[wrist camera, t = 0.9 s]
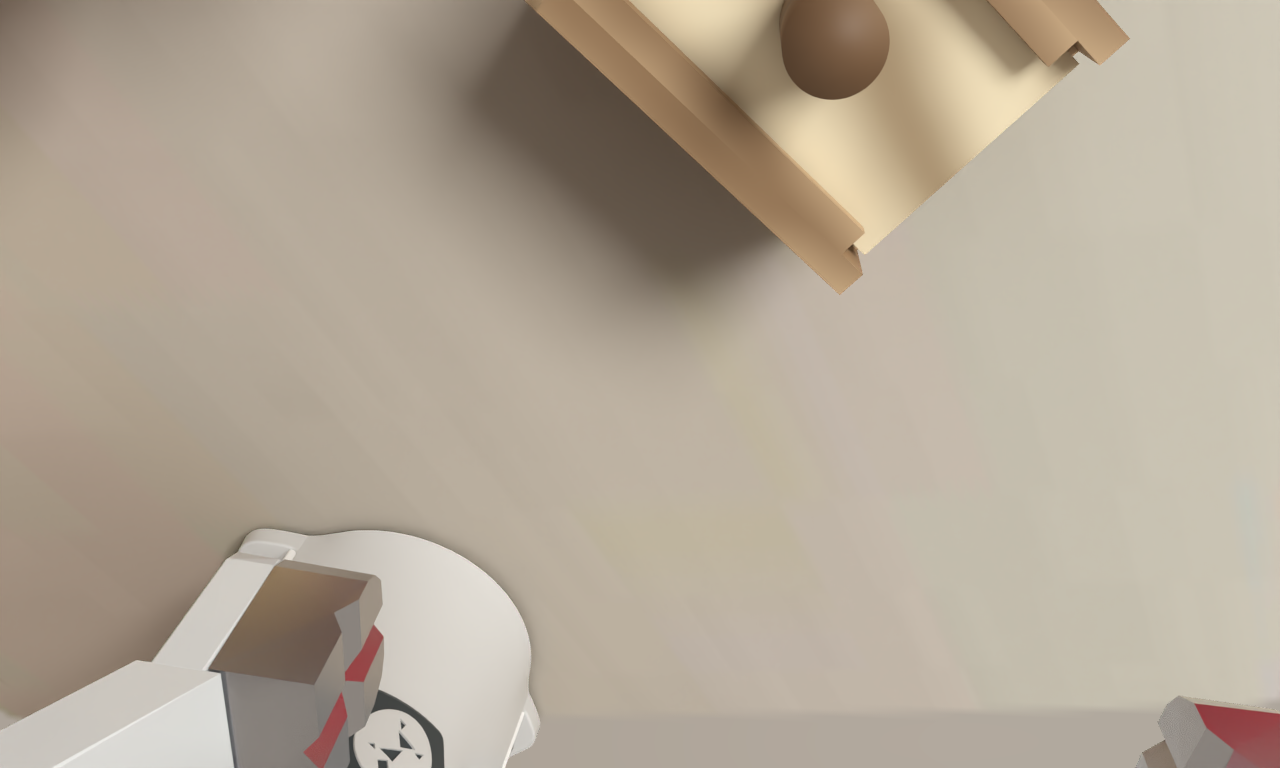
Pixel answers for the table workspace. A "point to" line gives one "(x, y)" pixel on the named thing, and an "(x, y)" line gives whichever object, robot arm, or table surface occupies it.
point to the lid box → (740, 149)
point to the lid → (866, 87)
